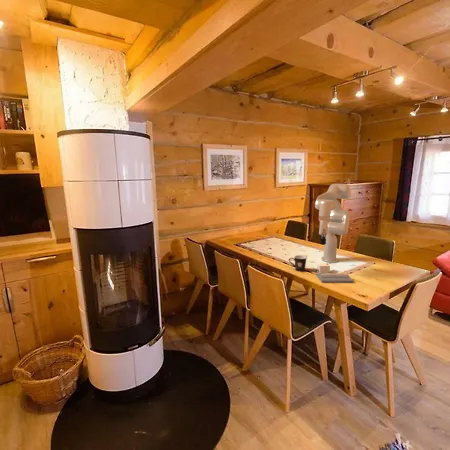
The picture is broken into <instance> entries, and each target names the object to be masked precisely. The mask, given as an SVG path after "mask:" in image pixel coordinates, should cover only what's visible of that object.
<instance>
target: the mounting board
mask: <svg viewBox="0 0 450 450" xmlns="http://www.w3.org/2000/svg"><path fill="white" fill-rule="evenodd" d="M320 274H321V273H316V277H317V278H318V280H319V281H320V282H321V283H322V284H324V283H325V284H326V283H327V284H328V283H329V284H332V283H333V284H337V283H338V284H341V283H342V284H351V283H352V284H353V283H354V280H353V279H352V278H351V276H349V278H321V277H320Z"/></svg>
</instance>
